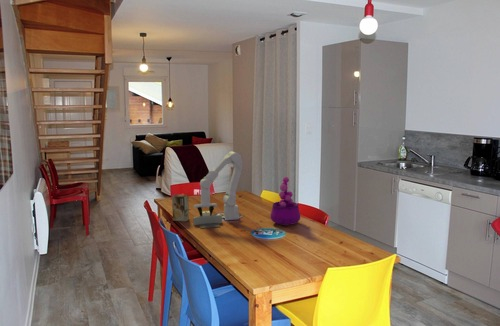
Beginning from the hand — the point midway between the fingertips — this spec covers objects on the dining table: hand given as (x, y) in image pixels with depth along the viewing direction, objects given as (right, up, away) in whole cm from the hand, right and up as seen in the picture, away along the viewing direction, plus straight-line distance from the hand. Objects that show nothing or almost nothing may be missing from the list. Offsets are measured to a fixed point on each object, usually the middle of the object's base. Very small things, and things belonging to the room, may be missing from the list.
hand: (205, 218), depth 268 cm
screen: (+2, -3, -6) cm, 7 cm away
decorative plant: (+51, -3, -5) cm, 51 cm away
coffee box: (-16, -2, +3) cm, 17 cm away
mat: (+3, -3, -11) cm, 12 cm away
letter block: (0, -2, 0) cm, 2 cm away
